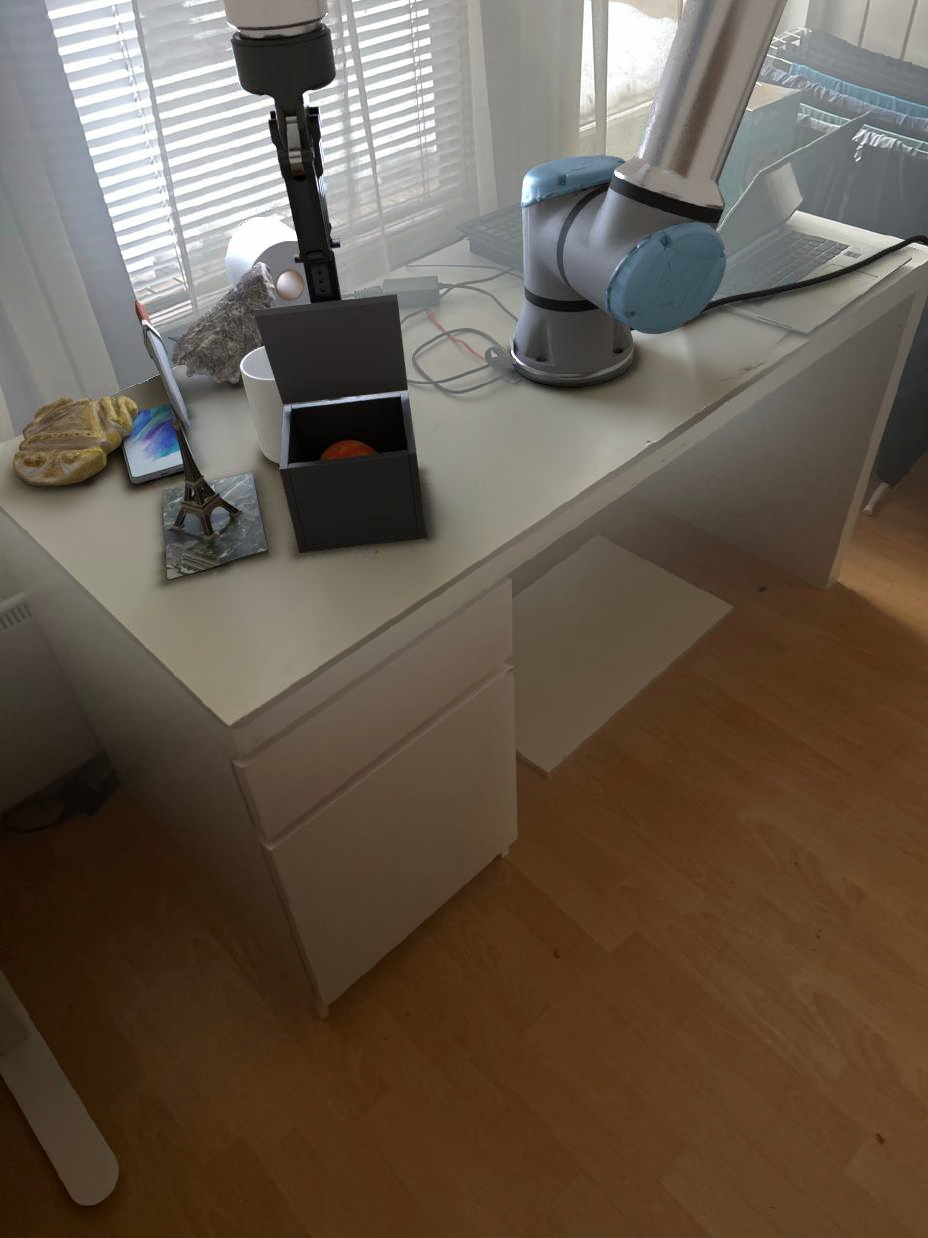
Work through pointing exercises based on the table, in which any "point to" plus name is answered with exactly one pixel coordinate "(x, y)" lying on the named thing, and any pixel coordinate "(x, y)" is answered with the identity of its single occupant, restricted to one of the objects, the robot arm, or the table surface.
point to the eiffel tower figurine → (209, 518)
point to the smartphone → (153, 445)
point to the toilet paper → (269, 258)
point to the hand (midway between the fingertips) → (330, 326)
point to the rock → (227, 329)
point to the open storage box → (351, 473)
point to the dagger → (161, 362)
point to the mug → (265, 402)
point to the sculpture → (72, 439)
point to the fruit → (347, 450)
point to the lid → (334, 348)
